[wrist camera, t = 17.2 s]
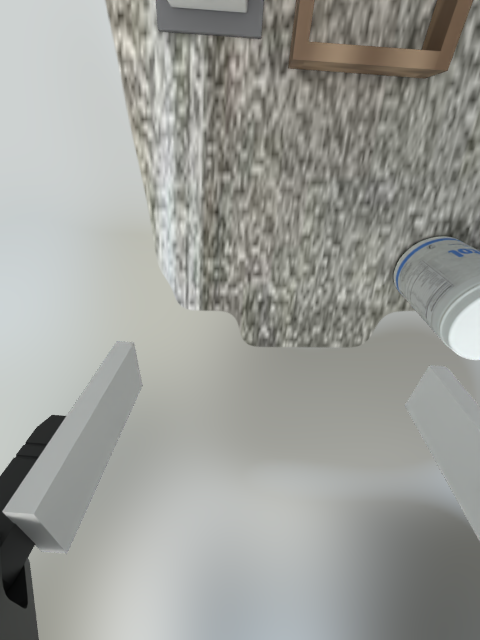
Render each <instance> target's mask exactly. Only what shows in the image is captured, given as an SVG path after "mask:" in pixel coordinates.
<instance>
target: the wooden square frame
mask: <svg viewBox="0 0 480 640" xmlns="http://www.w3.org/2000/svg"><path fill="white" fill-rule="evenodd" d="M314 1H315V0H296V7H295V16H294V24H293V32H292V41H291V49H290V57H289V66H288V68H291V69H304V70H318V71H332V72H345V73H359V74H372V75H386V76H400V77H413V78H427V77H430V76H433V75H436V74H439V73H442V72H445V71H448V68H449V65H450V62H451V60H452V57H453V54H454V51H455V49H456V46H457V43H458V40H459V38H460V35H461V32H462V29H463V27H464V24H465V21H466V19H467V16H468V13H469V10H470V8H471V5H472V2H473V0H437V3H436V6H435V9H434V12H433V15H432V19H431V22H430V25H429V28H428V31H427V35H426V38H425V41H424V44H423V47H422V50H415V49H401V48H388V47H374V46H360V45H347V44H333V43H319V42H309V35H310V29H311V22H312V15H313V8H314Z"/></svg>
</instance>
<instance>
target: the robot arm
mask: <svg viewBox="0 0 480 640" xmlns="http://www.w3.org/2000/svg"><path fill="white" fill-rule="evenodd" d="M142 386H143V385H142V380H141V375H140V370H139V366H138V360H137V355H136V350H135V346H134V343H132V342H120V341H117V342H116V343H115V345H114V346H113V348H112V349H111V351H110V352H109V354H108V355H107V357H106V358H105V360H104V361H103V363H102V364H101V365H100V367H99V369H98V370H97V371H96V373H95V375H94V376H93V377H92V379H91V380H90V382H89V383H88V385H87V386H86V388H85V389H84V391H83V392H82V394H81V395H80V397H79V398H78V400H77V401H76V403H75V404H74V406H73V407H72V409H71V410H70V412H69V413H68V415H67V416H59V415H51V416H50V417H49V418H48V419H47V420H45V421H44V422H43V423H42V424H40V425H39V426H38V427H37V428H36V429H35V430H34V432H33V433H32V434H31V436H30V437H29V438H28V440H27V441H26V444H25V445H23V446H22V448H21V449H20V450H19V452H18V453H17V454H16V458H14V459H13V460H12V461H11V463H10V464H9V465H8V467H7V468H6V469H5V471H4V472H3V473H2V475H1V476H0V640H39V639H38V630H37V621H36V612H35V604H34V595H33V587H32V578H31V570H30V562H29V559H28V556H29V554H30V553H31V550H32V549H33V547H34V545H36V546H37V547H38V548H39V549H40V550H41V551H42V552H54V553H67V552H68V550H69V548H70V546H71V543H72V541H73V539H74V537H75V534H76V532H77V530H78V528H79V526H80V523H81V521H82V519H83V517H84V514H85V512H86V510H87V508H88V506H89V503H90V501H91V499H92V497H93V495H94V492H95V490H96V488H97V486H98V483H99V481H100V479H101V477H102V474H103V472H104V470H105V468H106V466H107V463H108V461H109V459H110V456H111V455H112V452H113V450H114V448H115V446H116V443H117V441H118V439H119V437H120V435H121V432H122V430H123V428H124V426H125V423H126V421H127V419H128V417H129V415H130V412H131V410H132V408H133V406H134V403H135V401H136V399H137V397H138V394H139V392H140V390H141V388H142ZM405 407H406V409H407V411H408V413H409V414H410V416H411V418H412V420H413V422H414V424H415V425H416V427H417V429H418V431H419V432H420V434H421V436H422V438H423V440H424V442H425V443H426V445H427V447H428V449H429V451H430V453H431V454H432V456H433V458H434V459H435V462H436V463H437V465H438V467H439V469H440V470H441V472H442V474H443V476H444V478H445V480H446V481H447V483H448V485H449V487H450V489H451V490H452V492H453V494H454V496H455V497H456V499H457V501H458V503H459V505H460V507H461V508H462V510H463V512H464V514H465V516H466V517H467V519H468V521H469V523H470V525H471V526H472V528H473V530H474V532H475V534H476V535H477V537H478V539H479V541H480V406H479V405H478V404H477V402H476V401H475V400H474V399H473V398H472V396H471V395H470V394H469V393H468V392H467V390H466V389H465V388H464V387H463V385H462V384H461V383H460V382H459V381H458V379H457V378H456V377H455V376H454V375H453V373H452V372H451V371H450V370H449V369H448V367H444V366H432V365H429V367H428V369H427V370H426V372H425V373H424V375H423V377H422V378H421V380H420V382H419V383H418V385H417V386H416V388H415V390H414V392H413V393H412V395H411V396H410V398H409V399H408V401H407V403H406V404H405Z"/></svg>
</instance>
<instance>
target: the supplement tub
mask: <svg viewBox="0 0 480 640" xmlns="http://www.w3.org/2000/svg"><path fill="white" fill-rule="evenodd" d="M394 284H395V286H396V288H397V290H398V291H399V292H400V293H401V295H402V296H403V297H404V298H405V299H406V300H407V302H408V303H409V304H410V305H411V306H412V307H413V308H414V310H415V311H416V312H417V313H418V314H419V315H420V316H421V318H422V319H423V320H424V321H425V322H426V323H427V324H428V325H429V327H430V328H431V329H432V330H433V331H434V332H435V333H436V335H437V336H438V337H439V338H440V339H441V340H442V341H443V342H444V344H445V345H446V346H448V347H449V348H451V349H452V350H453V351H454V352H455V353H456V354H458V355H459V356H461V357H464V358H467V359H471V360H480V251H479V250H477V249H475V248H473V247H471V246H469V245H467V244H466V243H464V242H462V241H460V240H458V239H456V238H452V237H447V236H440V237H433V238H429V239H426V240H423V241H421V242H419V243H417V244H415V245H414V246H412V247H411V248H410V249H408V250H407V251H406V252H405V253H404V254H403V255H402V257H401V258H400V259H399V261H398V263H397V265H396V267H395V270H394Z"/></svg>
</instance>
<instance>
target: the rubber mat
mask: <svg viewBox="0 0 480 640" xmlns="http://www.w3.org/2000/svg"><path fill="white" fill-rule="evenodd" d="M263 6H264V0H248V4H247V12H246V13H241V12H228V11H216V10H203V9H190V8H177V7H171V5H170V4H169V2H168V1H167V0H156V9H157V22H158V30H159V31H162V32H175V33H189V34H203V35H216V36H230V37H244V38H257V39H261V33H262V19H263Z"/></svg>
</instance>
